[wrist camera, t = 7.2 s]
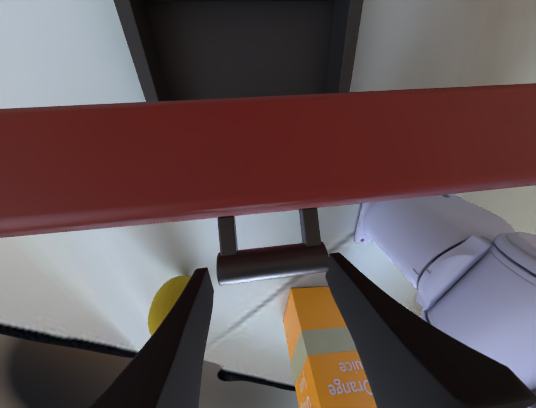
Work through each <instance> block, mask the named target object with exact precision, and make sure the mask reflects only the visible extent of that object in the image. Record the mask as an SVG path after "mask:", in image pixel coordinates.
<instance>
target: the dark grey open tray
mask: <svg viewBox="0 0 536 408" xmlns="http://www.w3.org/2000/svg"><path fill="white" fill-rule="evenodd" d="M114 3H115V6H116V9H117V12H118V15H119V19H120V22H121V25H122V28H123V31H124V34H125V37H126V40H127V44H128V47H129V50H130V53H131V56H132V59H133V62H134V65H135V68H136V72H137V75H138V78H139V81H140V84H141V87H142V90H143V93H144V97H145V100H146V102H159V101H179V100H200V99H221V98H242V97H263V96H284V95H305V94H326V93H347V92H349V91H350V84H351V77H352V71H353V64H354V58H355V51H356V45H357V38H358V32H359V25H360V18H361V12H362V5H363V0H114Z"/></svg>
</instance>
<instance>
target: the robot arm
mask: <svg viewBox="0 0 536 408" xmlns="http://www.w3.org/2000/svg"><path fill="white" fill-rule="evenodd" d="M373 241H374V242H375V243H376V244H377V245H378V246H379V248H380V249H381V250H382V251H383V252H384V253H385V254H386V255H387V257H388V258H389V259H390V260H391V261H392V262H393V263H394V264H395V265H396V267H397V268H398V269H399V270H400V271H401V272H402V273H403V274H404V276H405V277H406V278H407V279H408V280H409V281H410V282H411V283H412V285H413V286H414V287H415V288H416V289H417V290H418V293H417V295H416V296H415V299H416V300H417V301H418V303H419V304H420V305H421V306H422V307H423V308H424V309H423V311H422V313H421V318H420V317H419V316H417V315H416V314H414V313H412V312H411V311H410V310H408V309H407V308H405V307H404V306H403V305H401V304H400V303H398V302H397V301H396V300H394V299H393V298H391V297H390V296H389V295H388V294H386V293H385V292H384V291H383V290H381V289H380V288H379V287H378V286H376V285H375V284H374V283H373V282H372V281H370V280H369V279H368V278H367V277H366V276H365V275H363V274H362V273H361V272H360V271H359V270H358V269H357V268H356V267H355V266H353V265H352V264H351V263H350V262H349V261H348V260H347V259H346V258H345V257H344V256H343V255H341V254H340V253H330V254H329V269H328V271H327V272H326V276H325V277H326V280H327V283H328V286H329V289H330V292H331V294H332V296H333V298H334V301H335V303H336V305H337V307H338V309H339V311H340V313H341V315H342V317H343V320H344V322H345V324H346V326H347V328H348V330H349V332H350V334H351V337H352V339H353V341H354V344H355V347H356V349H357V352H358V354H359V357H360V360H361V362H362V365H363V368H364V371H365V374H366V376H367V379H368V382H369V385H370V388H371V391H372V394H373V397H374V400H375V403H376V406H377V408H536V235H534V234H530V233H525V232H515V231H514V229H513V228H512V227H511V226H510V225H509V224H508V223H507V222H506V221H505V220H504V219H502V218H501V217H499V216H498V215H496V214H494V213H491V212H489V211H487V210H485V209H483V208H481V207H479V206H477V205H475V204H473V203H470V202H468V201H466V200H464V199H462V198H460V197H458V196H456V195H454V194H445V195H435V196H425V197H416V198H406V199H397V200H387V201H377V202H368V203H362V207H361V212H360V216H359V220H358V224H357V228H356V232H355V236H354V242H355V243H365V242H373ZM213 294H214V290H213V286H212V283H211V279H210V275H209V272H208V268H199V269H196V270H195V271H194V273H193V275H192V276H191V278H190V280H189V282H188V283H187V285H186V287H185V288H184V290H183V292H182V293H181V295H180V296H179V298H178V299H177V301H176V303H175V304H174V306H173V307H172V309H171V310H170V312H169V313H168V314H167V316H166V317H165V319H164V320H163V321H162V323H161V324H160V326H159V327H158V328H157V330H156V331H155V332H154V334H153V335H152V336H151V338H150V339H149V340H148V341H147V343H146V344H145V345H144V346H143V348H142V349H141V350H140V351H139V352H138V354H137V355H136V356H135V357H134V358H133V360H132V361H131V362H130V363H129V365H127V367H126V368H125V369H124V370H123V371H122V372H121V374H120V375H119V376H118V377H117V378H116V379H115V380H114V381H113V382H112V383H111V384H110V385H109V386H108V387H107V389H106V390H105V391H104V392H103V393H102V394H101V395H100V396H99V397H98V398H97V399H96V400H95V401H94V402H93V403H92V404H91V405H90V406H89V407H88V408H198V407H199V395H200V385H201V375H202V365H203V359H204V352H205V347H206V341H207V336H208V331H209V325H210V320H211V314H212V307H213Z"/></svg>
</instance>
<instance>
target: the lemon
mask: <svg viewBox="0 0 536 408" xmlns="http://www.w3.org/2000/svg"><path fill="white" fill-rule="evenodd" d="M190 278H191V277H190V276H178V277H175V278H172V279H171V280H169V281H167V282H166V283H165V284H164V285H163V286H162V287H161V288H160V289H159V291H158V292H157V293H156V295H155V297H154V299H153V302H152V305H151V307H150V311H149V317H148V327H149V332H150V334H151V336H152V335H153V334H154V332H155V331H156V330H157V328H158V327H159V326H160V324H161V323H162V321H163V320H164V319H165V317H166V316H167V314H168V313H169V312H170V310H171V309H172V307H173V306H174V304H175V303H176V301H177V299H178V298H179V296H180V295H181V293H182V292H183V290H184V288H185V287H186V285H187V283H188V282H189V280H190Z"/></svg>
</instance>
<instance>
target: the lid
mask: <svg viewBox="0 0 536 408" xmlns="http://www.w3.org/2000/svg"><path fill="white" fill-rule="evenodd" d="M531 185H536V83H535V84H514V85H493V86H472V87H451V88H430V89H409V90H388V91H367V92H347V93H326V94H305V95H284V96H263V97H242V98H221V99H200V100H179V101H159V102H138V103H117V104H96V105H75V106H54V107H33V108H12V109H0V238H3V237H14V236H25V235H36V234H47V233H57V232H68V231H79V230H90V229H101V228H112V227H122V226H133V225H144V224H155V223H166V222H176V221H187V220H197V219H207V218H217V217H218V230H219V241H220V253H218V256H217V278H218V282H219V284H220V285H228V284H236V283H244V282H251V281H259V280H267V279H275V278H283V277H290V276H298V275H306V274H314V273H322V272H327V271H328V269H329V257H328V252H327V249H326V247H325V245H324V243H323V242H321V238H320V229H319V220H318V211H317V208H319V207H329V206H339V205H348V204H358V203H368V202H377V201H387V200H397V199H406V198H416V197H425V196H435V195H445V194H454V193H464V192H473V191H483V190H493V189H502V188H512V187H521V186H531ZM298 209H299V214H300V223H301V233H302V242H303V243H299V244H290V245H281V246H272V247H264V248H255V249H246V250H238V248H237V236H236V225H235V217H234V216H238V215H248V214H258V213H268V212H278V211H288V210H298Z"/></svg>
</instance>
